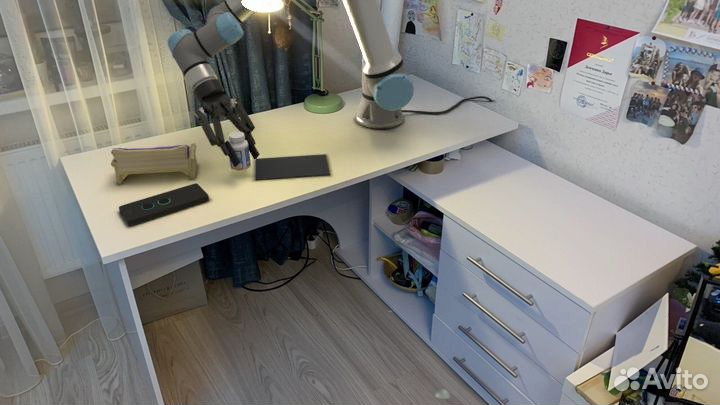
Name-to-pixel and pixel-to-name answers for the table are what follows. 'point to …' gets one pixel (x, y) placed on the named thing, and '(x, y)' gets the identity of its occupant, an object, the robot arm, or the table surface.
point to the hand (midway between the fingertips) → (247, 160)
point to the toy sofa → (154, 160)
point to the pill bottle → (240, 151)
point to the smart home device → (163, 204)
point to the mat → (291, 167)
